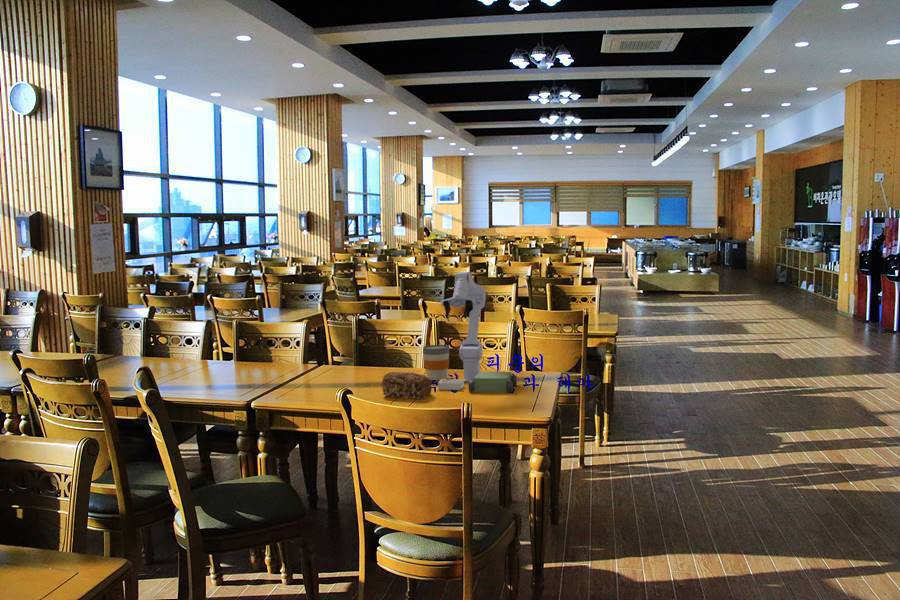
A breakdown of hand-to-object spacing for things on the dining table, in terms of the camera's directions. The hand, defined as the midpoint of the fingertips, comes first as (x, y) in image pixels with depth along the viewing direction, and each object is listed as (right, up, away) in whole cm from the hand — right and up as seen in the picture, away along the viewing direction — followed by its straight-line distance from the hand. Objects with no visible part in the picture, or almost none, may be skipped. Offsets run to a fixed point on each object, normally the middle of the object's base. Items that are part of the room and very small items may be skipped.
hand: (455, 317), depth 318 cm
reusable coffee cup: (-8, -30, +37) cm, 48 cm away
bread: (-20, -33, +3) cm, 39 cm away
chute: (-2, -31, +14) cm, 34 cm away
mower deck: (+16, -31, +9) cm, 36 cm away
